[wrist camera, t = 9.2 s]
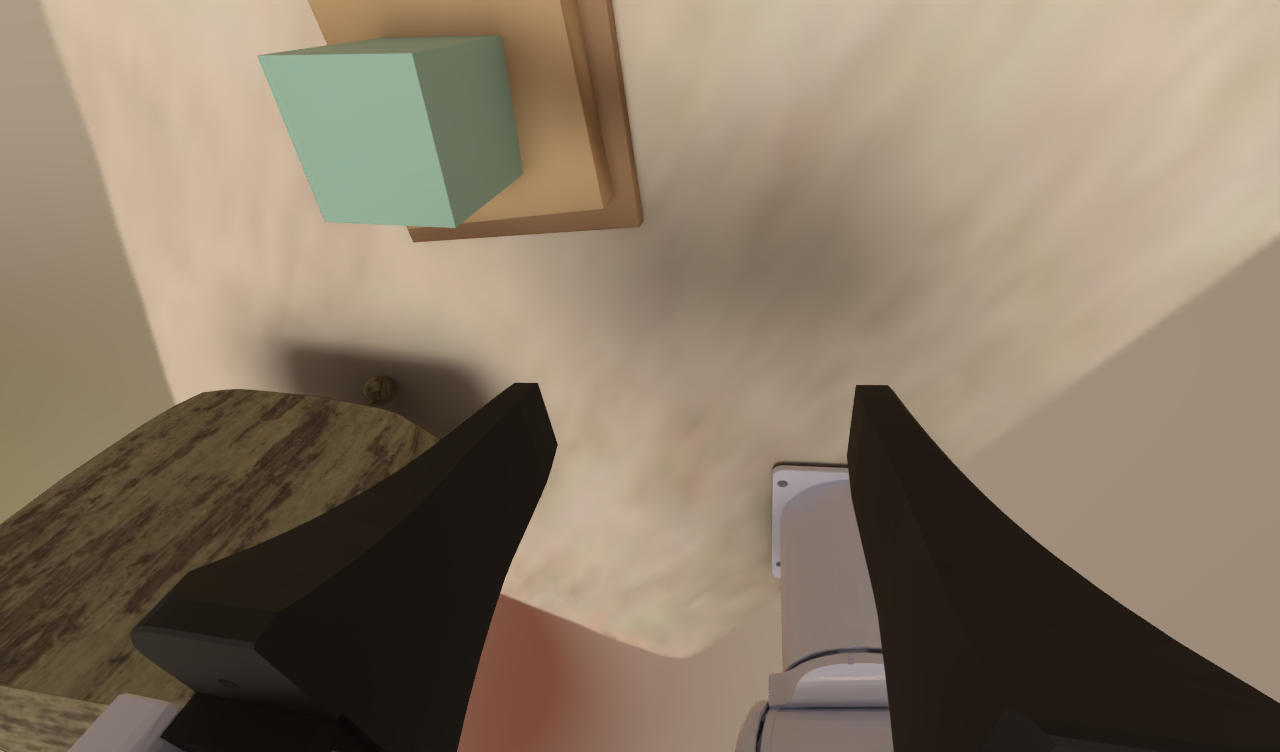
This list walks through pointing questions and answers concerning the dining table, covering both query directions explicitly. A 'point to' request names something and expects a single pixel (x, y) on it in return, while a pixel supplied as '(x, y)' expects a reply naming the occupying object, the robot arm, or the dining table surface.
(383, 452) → the tabletop clock
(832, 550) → the robot arm
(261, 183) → the dining table surface
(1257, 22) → the dining table surface
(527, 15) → the top slab
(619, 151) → the bottom slab
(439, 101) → the block
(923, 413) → the dining table surface
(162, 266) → the dining table surface
